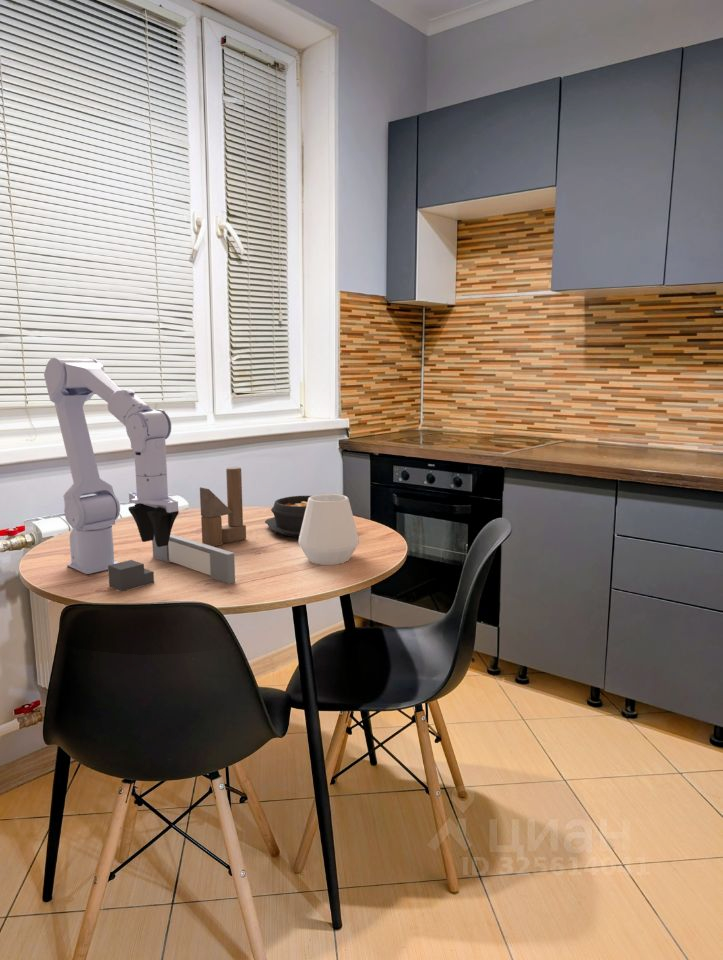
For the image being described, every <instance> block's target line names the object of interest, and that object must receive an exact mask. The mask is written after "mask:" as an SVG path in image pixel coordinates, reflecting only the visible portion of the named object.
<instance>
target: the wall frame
mask: <svg viewBox="0 0 723 960" xmlns="http://www.w3.org/2000/svg"><path fill="white" fill-rule="evenodd" d="M169 540H173V541H176V542H179V543H183V544H186V545H189V546H192V547H195V548H199V549H202V550H205V551H208V552H210V566H211V575H210V578H211V579H212V580H216V581H219V582H221V583H224V584H227V585H231V584H234V583H236V569H235V568H236V566H235V553H234V552H231V551H228V550H225V549H223V548H219V547H217V546H215V547H213V546H209V545H206V544H203V543H202V542H199V541H196V540H193V539H189V538H185V537H183V536H179V535H176V534H172V533H171V534H170V538H169ZM151 543H152V557H153V558H154V559H157V560H160V561H162V562H165V563H170V562H171V561H169V548H168V545H166V546H162V547H157V545H156V542H155V535H154V538H153V540H151ZM171 563H172V562H171Z"/></svg>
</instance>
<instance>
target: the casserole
mask: <svg viewBox="0 0 723 960" xmlns="http://www.w3.org/2000/svg"><path fill="white" fill-rule="evenodd" d="M311 496H312V495H296V496H295V495H292V496H287V497H286V496H285V497H281V498H279V499H276V500H275V501H274V504H273V507H271V509H270V511H271V512H272V514H273V517H270V518H268V519H265V521H264V523H265V524H266V525H267V527H268V529H269V530H271V531H273V532H275V533H277V534H278V533H279V534H281V535H284V536H287V537H293V538H294V537H295V538H299V535H300V531H301V527H302V523H303V519H304V514H305V510H306V506H307V502H308V498H309V497H311Z"/></svg>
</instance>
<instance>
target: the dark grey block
mask: <svg viewBox="0 0 723 960" xmlns="http://www.w3.org/2000/svg"><path fill="white" fill-rule="evenodd" d="M107 571H108V585H109V586H108V587H109V588H111V589H113V590H117V591H119V592H121V593H122V592H126V591H130V590H133V589H137V588H141V587H144V586H147V585H152V584H155V577H154V576H155V575H154V571H153V570H150V569H147V568H145V564H144V563H142V562H139V561H136V560H133V559H129V560H125V561H121V562H118V563H116V564H112V565H108V570H107Z"/></svg>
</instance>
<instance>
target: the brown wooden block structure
mask: <svg viewBox="0 0 723 960" xmlns="http://www.w3.org/2000/svg"><path fill="white" fill-rule="evenodd" d="M225 471H226V495H227V496H226V497H227V498H226V499H227V500H226V502H227V505H226V504H225V502H223V501H222V500H221V499H220V498H219V497H218V496H217V495H216V494H214V492H213V491H211V490H210V489H209V488H206V487H199V499H200V503H199V505H200V516H201V517H200V518H201V520H200V521H201V541H202V542H201V543H203V544H206V545H209V546H213V547H217V546H222V545H223V544H232V543H235V542H239V541H242V540H246V539H247V525H245V524H243V523H244V515H243V489H242V488H243V486H242V478H243V477H242V468H241V467H240V466H231V467H230V466H229V467H227V468H226V470H225ZM226 515H227V525H223V523H222V516H226Z"/></svg>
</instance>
